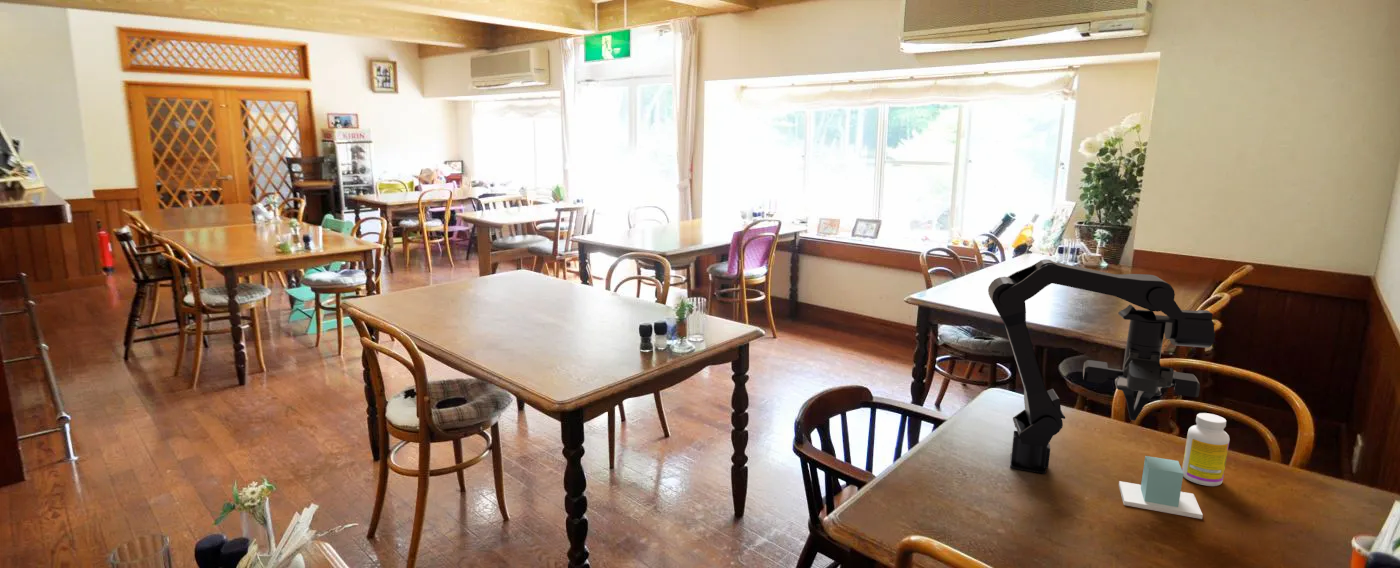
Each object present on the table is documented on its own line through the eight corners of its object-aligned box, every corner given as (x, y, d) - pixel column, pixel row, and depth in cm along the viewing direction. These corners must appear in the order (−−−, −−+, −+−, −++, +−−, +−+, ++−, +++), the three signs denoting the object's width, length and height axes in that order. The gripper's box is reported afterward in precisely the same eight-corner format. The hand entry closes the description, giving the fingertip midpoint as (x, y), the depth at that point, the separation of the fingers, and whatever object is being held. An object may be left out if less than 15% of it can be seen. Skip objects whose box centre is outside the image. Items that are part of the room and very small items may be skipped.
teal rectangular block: (1144, 501, 131) (1149, 467, 129) (1140, 488, 135) (1145, 455, 134) (1178, 507, 129) (1183, 473, 127) (1173, 493, 133) (1178, 461, 132)
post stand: (1123, 504, 131) (1128, 472, 130) (1118, 484, 138) (1122, 454, 137) (1202, 519, 126) (1207, 485, 125) (1192, 497, 133) (1197, 466, 132)
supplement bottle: (1228, 489, 136) (1240, 426, 133) (1190, 485, 138) (1200, 423, 135) (1212, 472, 143) (1222, 412, 140) (1175, 469, 144) (1184, 409, 141)
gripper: (1089, 347, 133) (1078, 425, 136) (1211, 362, 124) (1196, 446, 128) (1088, 331, 142) (1078, 405, 146) (1201, 345, 134) (1187, 422, 138)
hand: (1132, 419), depth 139 cm, fingers closed
